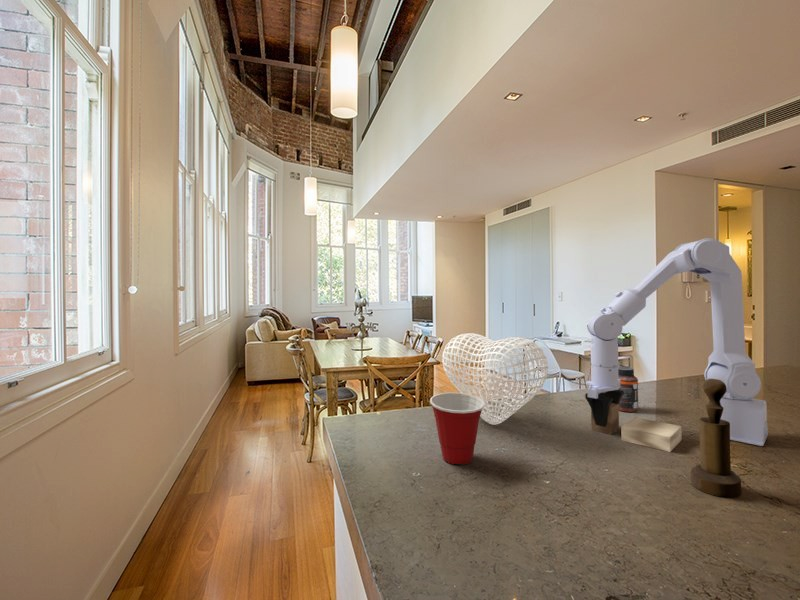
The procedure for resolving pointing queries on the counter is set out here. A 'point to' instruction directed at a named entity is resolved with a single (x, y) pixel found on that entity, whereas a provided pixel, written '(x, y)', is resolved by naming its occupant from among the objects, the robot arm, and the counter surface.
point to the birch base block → (651, 434)
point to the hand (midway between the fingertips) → (605, 422)
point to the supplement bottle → (628, 389)
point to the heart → (490, 346)
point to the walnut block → (608, 421)
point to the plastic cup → (457, 424)
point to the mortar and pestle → (715, 448)
